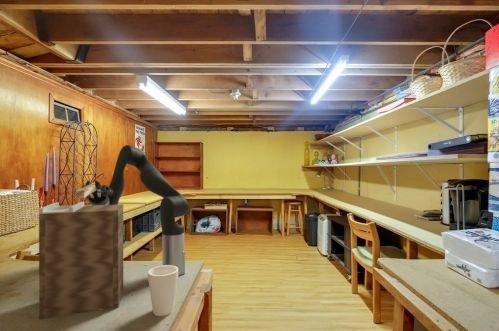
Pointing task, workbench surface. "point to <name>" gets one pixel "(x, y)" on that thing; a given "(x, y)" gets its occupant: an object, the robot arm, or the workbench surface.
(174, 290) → the foam cup
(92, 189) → the beige wooden rod
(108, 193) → the robot arm
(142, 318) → the workbench surface
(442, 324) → the workbench surface
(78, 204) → the trough
